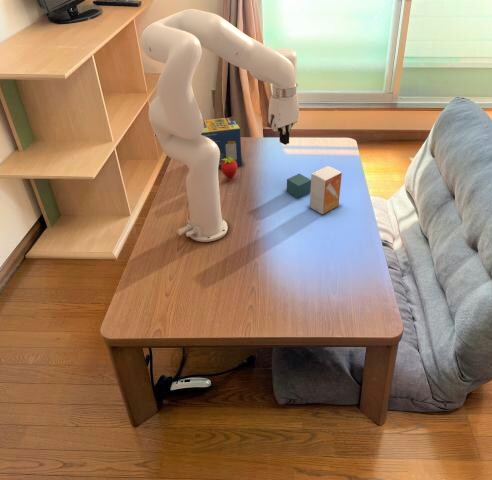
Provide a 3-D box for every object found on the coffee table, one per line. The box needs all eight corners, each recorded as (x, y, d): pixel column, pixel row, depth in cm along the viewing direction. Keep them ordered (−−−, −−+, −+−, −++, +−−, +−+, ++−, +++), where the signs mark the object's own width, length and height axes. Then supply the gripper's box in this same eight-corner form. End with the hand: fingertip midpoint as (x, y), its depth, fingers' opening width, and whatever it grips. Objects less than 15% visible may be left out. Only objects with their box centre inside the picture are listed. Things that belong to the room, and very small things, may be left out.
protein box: (197, 158, 190) (193, 121, 180) (236, 153, 193) (234, 116, 184) (202, 171, 182) (198, 133, 172) (242, 165, 186) (240, 127, 176)
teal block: (298, 198, 168) (298, 185, 165) (286, 191, 172) (286, 179, 168) (310, 192, 171) (311, 179, 168) (298, 185, 175) (299, 173, 172)
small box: (323, 215, 160) (325, 180, 152) (309, 207, 164) (310, 173, 156) (339, 205, 165) (342, 172, 157) (325, 198, 168) (327, 164, 160)
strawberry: (221, 185, 174) (219, 160, 168) (222, 174, 180) (220, 150, 174) (238, 184, 175) (236, 159, 168) (238, 174, 181) (237, 149, 174)
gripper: (293, 81, 161) (292, 132, 173) (258, 93, 154) (260, 145, 165) (309, 87, 157) (307, 139, 169) (274, 100, 149) (275, 153, 161)
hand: (284, 142), depth 167 cm, fingers closed
